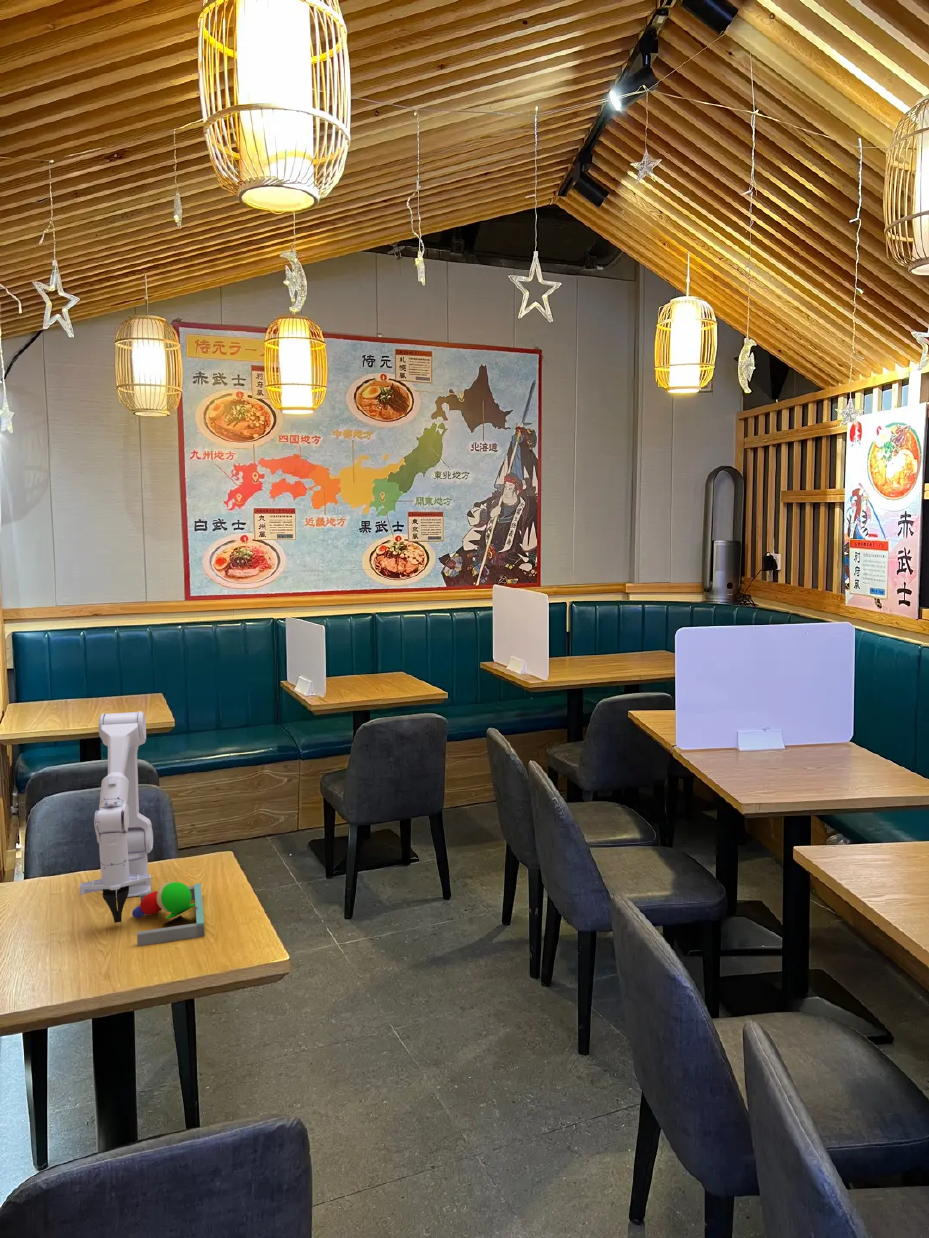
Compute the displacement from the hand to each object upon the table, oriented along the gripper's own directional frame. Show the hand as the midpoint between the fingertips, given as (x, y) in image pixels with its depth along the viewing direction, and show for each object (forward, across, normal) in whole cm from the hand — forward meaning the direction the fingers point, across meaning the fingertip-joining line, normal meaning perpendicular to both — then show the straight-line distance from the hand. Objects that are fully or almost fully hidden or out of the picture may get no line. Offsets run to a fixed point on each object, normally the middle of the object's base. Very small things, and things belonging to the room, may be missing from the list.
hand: (117, 920), depth 198 cm
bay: (+1, +10, 0) cm, 10 cm away
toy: (+2, +10, 0) cm, 10 cm away
